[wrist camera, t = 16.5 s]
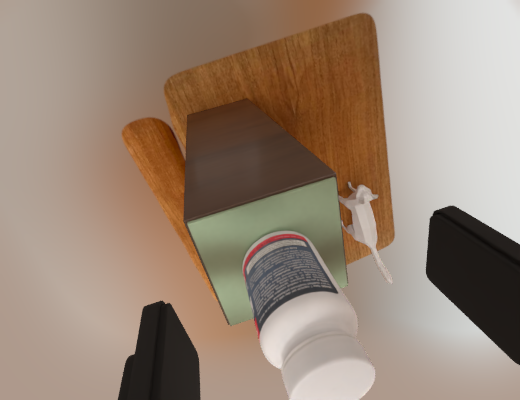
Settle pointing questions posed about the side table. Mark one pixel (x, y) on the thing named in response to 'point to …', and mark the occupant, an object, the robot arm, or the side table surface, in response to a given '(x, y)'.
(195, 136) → the front stand
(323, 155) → the side table surface
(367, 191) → the cat figurine
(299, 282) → the pill bottle
